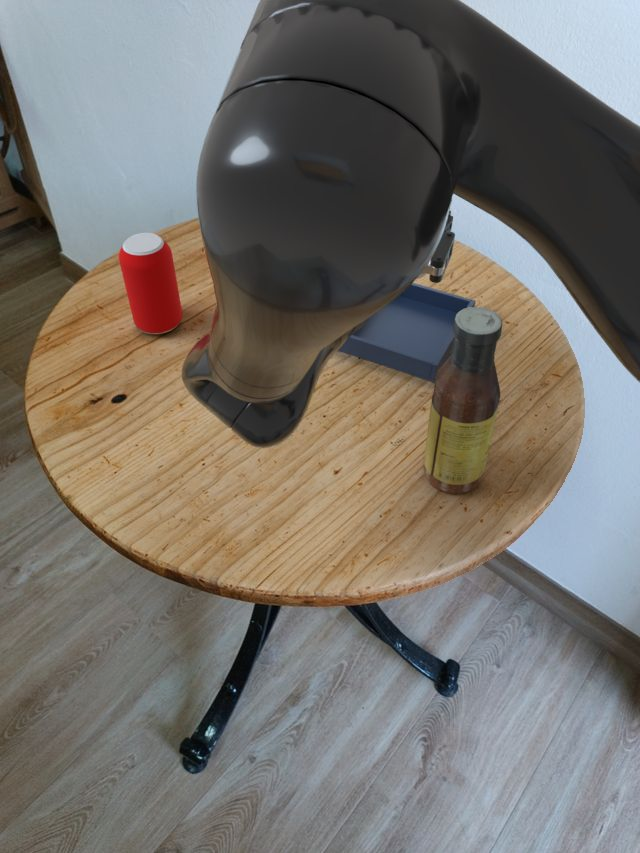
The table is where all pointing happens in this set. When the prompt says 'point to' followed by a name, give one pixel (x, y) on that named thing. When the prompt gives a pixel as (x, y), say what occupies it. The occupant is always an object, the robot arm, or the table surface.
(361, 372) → the table surface
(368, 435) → the table surface
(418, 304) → the blue tray
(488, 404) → the sauce bottle
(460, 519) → the table surface
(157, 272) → the beverage can
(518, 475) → the table surface
